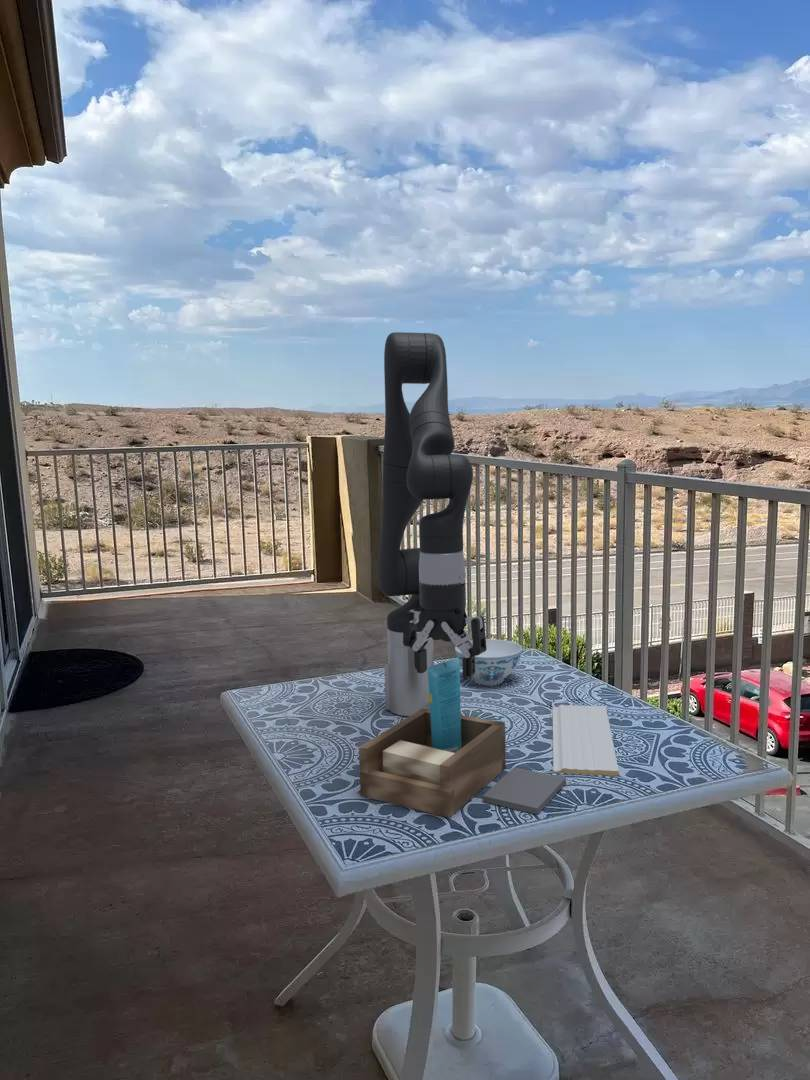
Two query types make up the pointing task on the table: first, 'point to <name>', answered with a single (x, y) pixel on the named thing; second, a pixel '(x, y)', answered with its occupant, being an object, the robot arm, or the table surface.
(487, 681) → the chinaware
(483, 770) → the open wooden box
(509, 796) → the mat
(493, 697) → the table surface
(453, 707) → the tube
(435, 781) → the offcut middle
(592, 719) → the baseboard molding
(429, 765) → the offcut top
